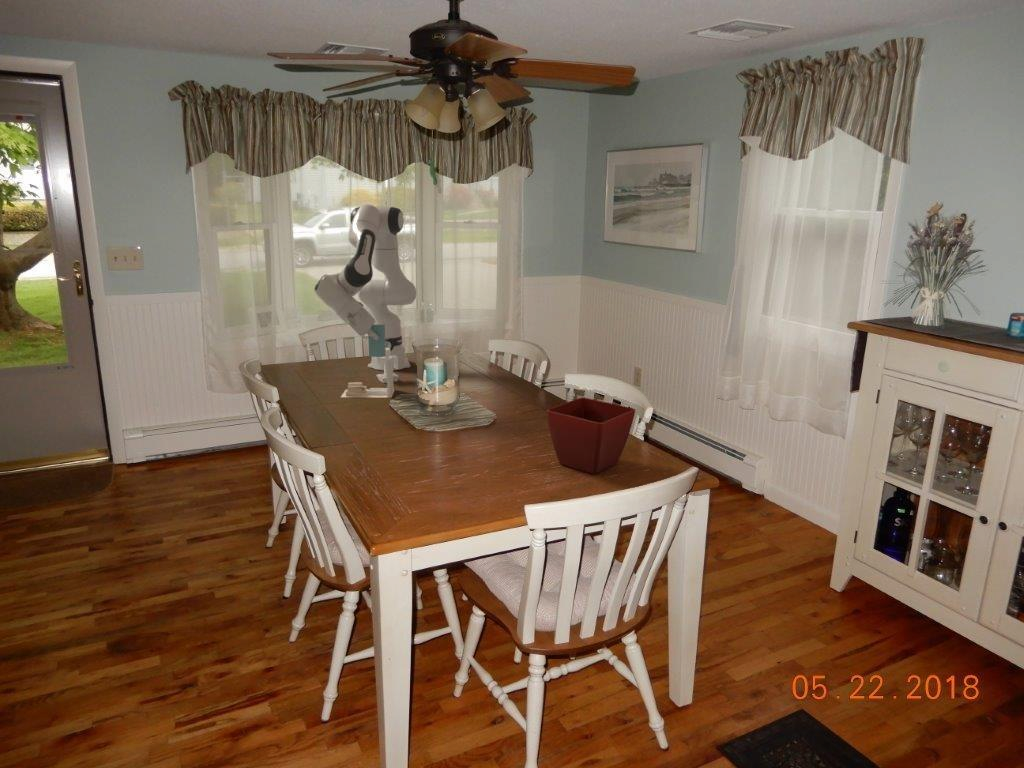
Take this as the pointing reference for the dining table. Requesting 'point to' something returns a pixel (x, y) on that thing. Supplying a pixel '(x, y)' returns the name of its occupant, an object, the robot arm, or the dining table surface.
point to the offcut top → (355, 386)
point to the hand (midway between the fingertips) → (378, 337)
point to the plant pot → (589, 433)
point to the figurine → (383, 361)
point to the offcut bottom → (357, 392)
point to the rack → (381, 391)
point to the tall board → (377, 342)
